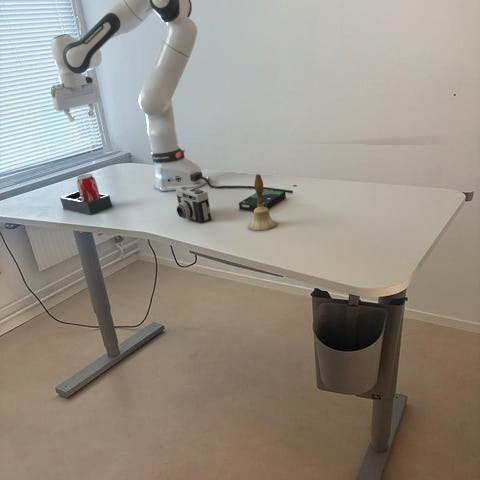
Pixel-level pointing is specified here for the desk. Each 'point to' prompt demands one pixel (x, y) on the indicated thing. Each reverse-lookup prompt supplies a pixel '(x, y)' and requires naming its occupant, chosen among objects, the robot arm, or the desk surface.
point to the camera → (193, 204)
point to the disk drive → (268, 200)
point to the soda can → (87, 188)
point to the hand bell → (261, 210)
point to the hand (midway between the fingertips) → (81, 118)
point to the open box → (85, 203)
